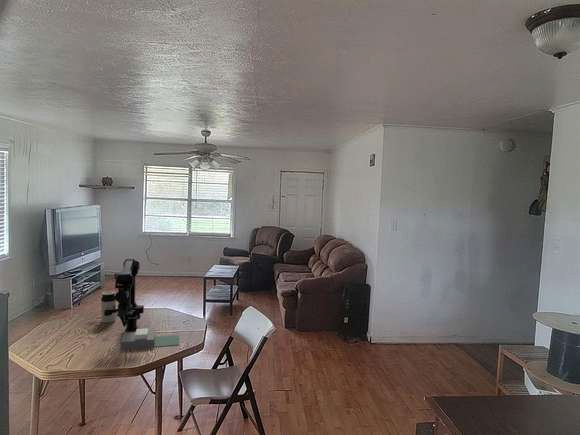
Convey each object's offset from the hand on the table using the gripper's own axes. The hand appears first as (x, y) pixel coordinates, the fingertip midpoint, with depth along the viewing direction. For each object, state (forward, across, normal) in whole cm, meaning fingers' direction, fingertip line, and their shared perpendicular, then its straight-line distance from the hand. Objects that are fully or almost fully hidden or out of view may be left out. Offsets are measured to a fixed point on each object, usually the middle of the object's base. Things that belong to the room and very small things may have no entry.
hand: (124, 326), depth 199 cm
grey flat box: (+10, +7, 0) cm, 12 cm away
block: (+6, +8, 0) cm, 10 cm away
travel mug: (+10, -14, +41) cm, 45 cm away
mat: (+10, +22, 0) cm, 24 cm away
